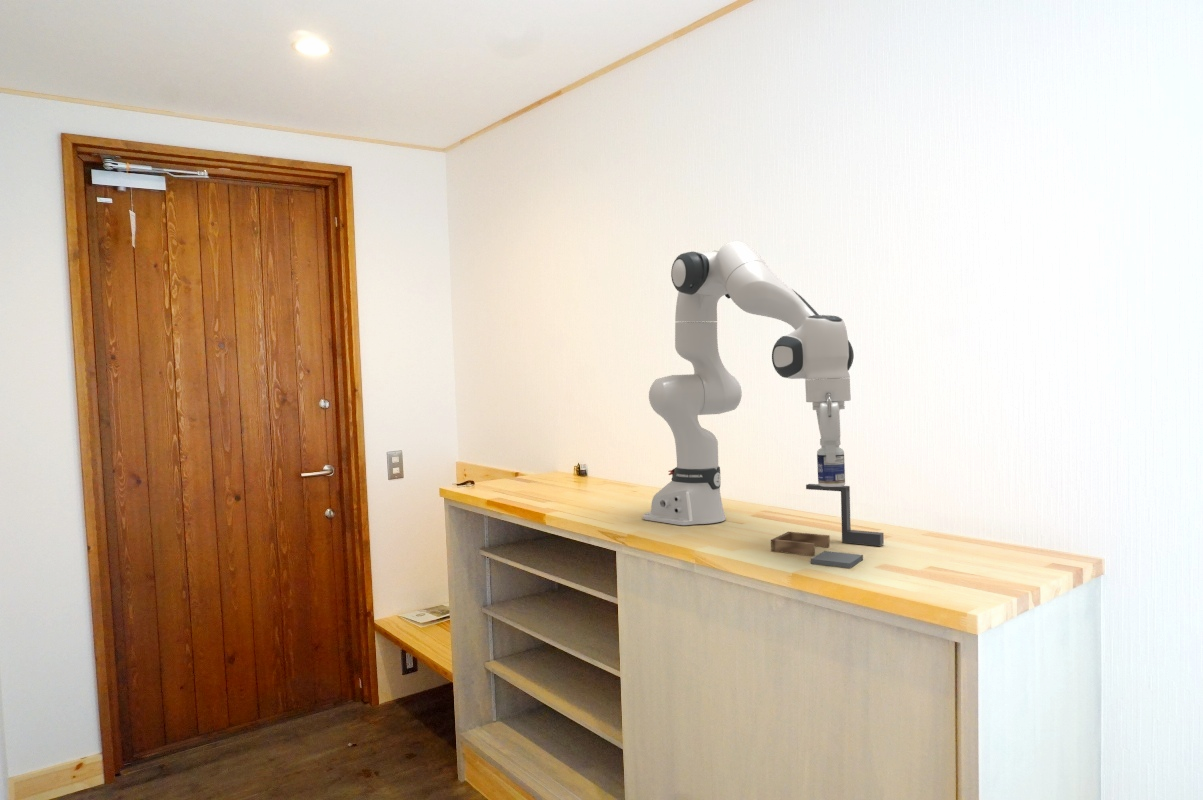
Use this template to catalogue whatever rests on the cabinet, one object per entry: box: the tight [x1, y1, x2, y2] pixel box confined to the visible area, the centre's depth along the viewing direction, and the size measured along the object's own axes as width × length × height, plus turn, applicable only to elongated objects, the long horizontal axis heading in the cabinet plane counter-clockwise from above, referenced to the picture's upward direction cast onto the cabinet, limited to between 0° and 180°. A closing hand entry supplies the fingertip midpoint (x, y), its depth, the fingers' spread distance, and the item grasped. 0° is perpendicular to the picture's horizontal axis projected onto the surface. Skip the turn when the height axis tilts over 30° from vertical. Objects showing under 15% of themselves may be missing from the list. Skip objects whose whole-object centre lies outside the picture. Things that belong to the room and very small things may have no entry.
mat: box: [810, 550, 864, 569], centre depth 159 cm, size 8×8×1 cm
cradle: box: [770, 531, 831, 557], centre depth 172 cm, size 10×10×2 cm
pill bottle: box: [816, 438, 846, 487], centre depth 160 cm, size 5×5×10 cm
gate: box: [805, 483, 885, 547], centre depth 177 cm, size 17×2×12 cm, turn 54°
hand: (830, 460), depth 160 cm, fingers closed on pill bottle, 5 cm apart
